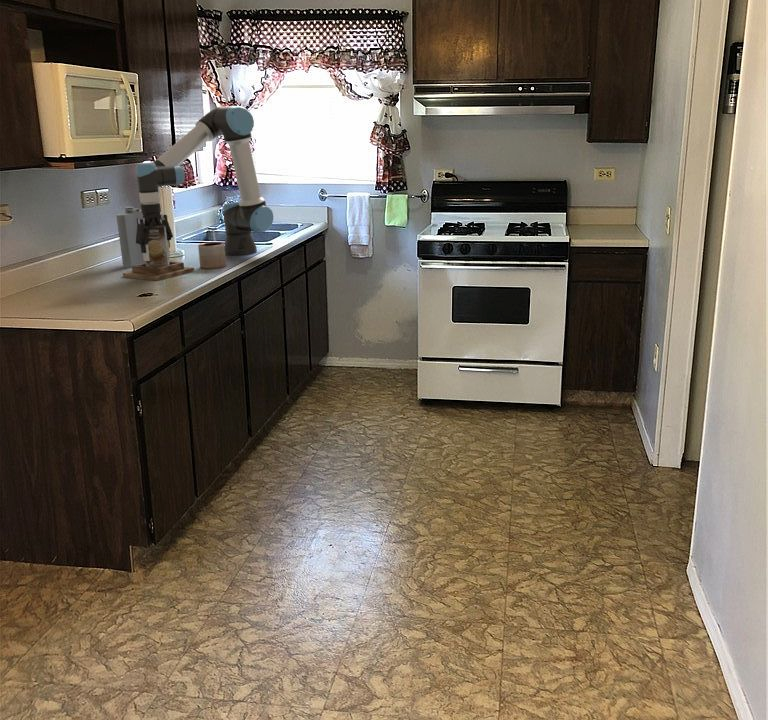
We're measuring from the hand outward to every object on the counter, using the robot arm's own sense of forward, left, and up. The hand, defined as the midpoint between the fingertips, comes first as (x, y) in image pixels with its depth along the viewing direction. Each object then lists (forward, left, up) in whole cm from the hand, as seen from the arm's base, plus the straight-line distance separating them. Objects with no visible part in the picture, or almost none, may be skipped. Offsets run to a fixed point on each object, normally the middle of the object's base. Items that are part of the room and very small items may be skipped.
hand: (157, 258), depth 325 cm
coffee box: (0, 0, -3) cm, 3 cm away
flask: (-12, -27, -7) cm, 30 cm away
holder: (0, 0, -6) cm, 6 cm away
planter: (-21, +10, -7) cm, 24 cm away
